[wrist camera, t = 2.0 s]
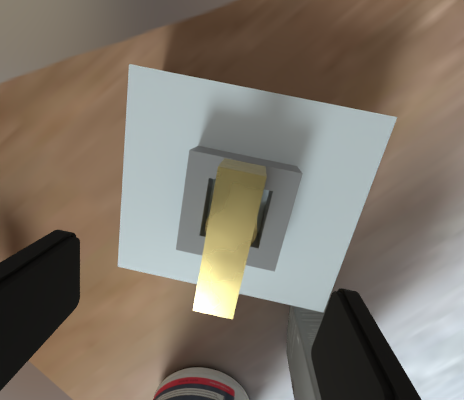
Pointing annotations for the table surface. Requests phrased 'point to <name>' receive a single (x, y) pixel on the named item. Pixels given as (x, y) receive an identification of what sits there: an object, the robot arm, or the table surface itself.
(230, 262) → the t key
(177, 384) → the supplement tub
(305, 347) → the skincare box
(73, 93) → the table surface
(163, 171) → the box
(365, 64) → the table surface
